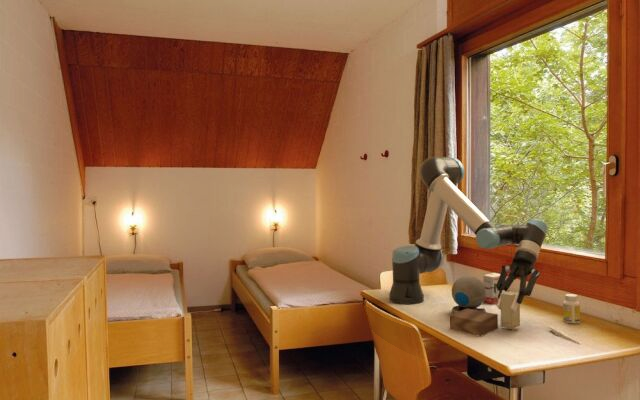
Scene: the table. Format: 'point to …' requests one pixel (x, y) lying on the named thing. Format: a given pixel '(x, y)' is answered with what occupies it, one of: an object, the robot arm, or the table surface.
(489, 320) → the walnut plinth
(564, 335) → the beige slender tapered piece
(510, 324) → the skincare box
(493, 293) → the ink box
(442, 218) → the robot arm
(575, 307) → the supplement bottle
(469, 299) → the webcam
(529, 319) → the table surface
